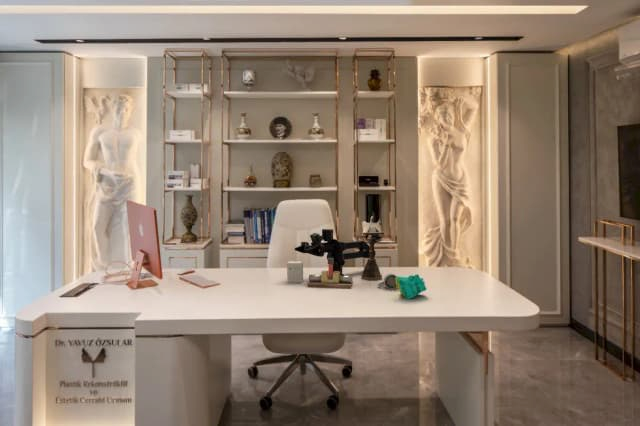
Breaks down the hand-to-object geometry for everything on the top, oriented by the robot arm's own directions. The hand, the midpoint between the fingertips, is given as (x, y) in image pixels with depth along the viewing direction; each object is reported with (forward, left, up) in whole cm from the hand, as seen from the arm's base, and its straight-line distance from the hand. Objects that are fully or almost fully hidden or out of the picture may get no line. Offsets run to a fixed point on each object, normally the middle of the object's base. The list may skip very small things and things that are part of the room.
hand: (299, 250), depth 262 cm
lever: (-7, +18, -12) cm, 23 cm away
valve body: (-7, +18, -15) cm, 25 cm away
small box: (+3, 0, -17) cm, 17 cm away
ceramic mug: (-27, +40, -17) cm, 51 cm away
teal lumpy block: (-22, +60, -17) cm, 66 cm away
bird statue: (-35, +20, -17) cm, 44 cm away
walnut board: (-7, +18, -16) cm, 26 cm away
